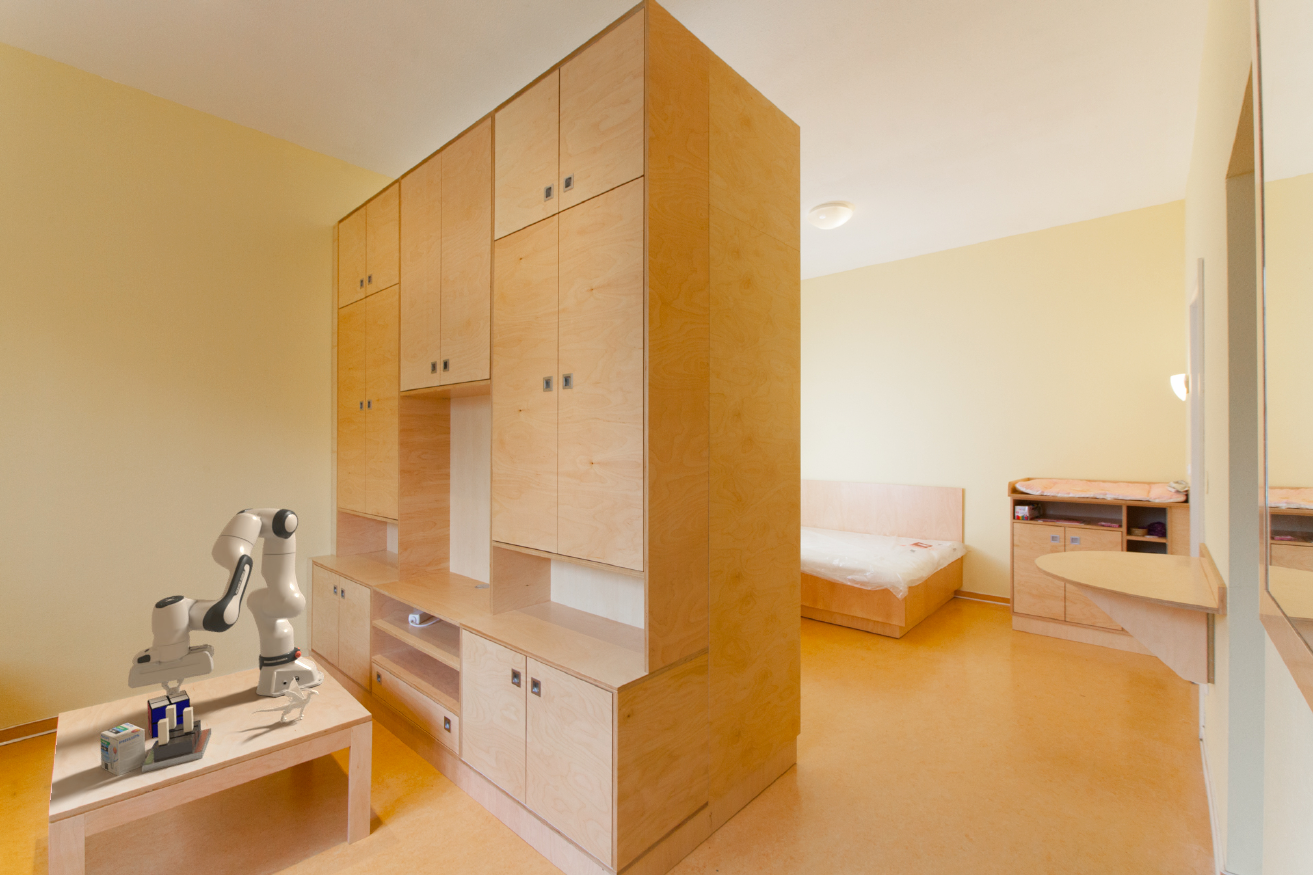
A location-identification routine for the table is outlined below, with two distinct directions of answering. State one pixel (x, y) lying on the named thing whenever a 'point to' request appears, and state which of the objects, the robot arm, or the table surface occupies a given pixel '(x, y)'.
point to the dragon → (293, 700)
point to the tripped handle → (188, 719)
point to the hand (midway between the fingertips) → (173, 693)
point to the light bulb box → (122, 748)
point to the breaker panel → (178, 747)
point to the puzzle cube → (159, 709)
